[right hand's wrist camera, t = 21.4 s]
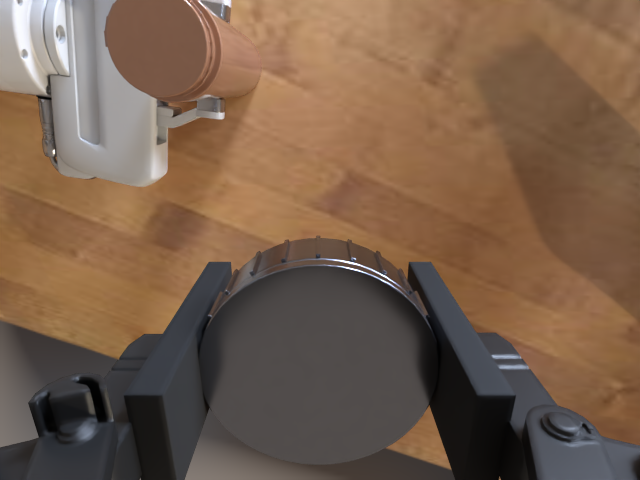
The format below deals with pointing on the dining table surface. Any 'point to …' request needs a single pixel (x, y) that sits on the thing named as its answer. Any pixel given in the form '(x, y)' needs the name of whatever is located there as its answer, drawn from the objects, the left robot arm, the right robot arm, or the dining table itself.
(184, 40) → the brown cylinder
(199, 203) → the dining table surface
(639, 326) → the dining table surface
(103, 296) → the dining table surface
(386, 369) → the lid
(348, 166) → the dining table surface
